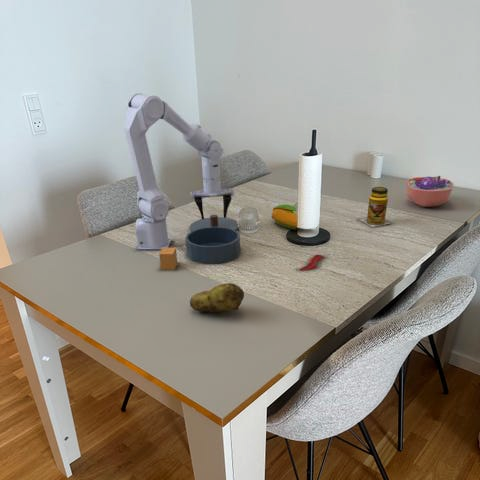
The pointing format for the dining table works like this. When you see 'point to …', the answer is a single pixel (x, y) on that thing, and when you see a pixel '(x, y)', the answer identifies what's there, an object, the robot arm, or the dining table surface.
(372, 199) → the condiment
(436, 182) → the cell model
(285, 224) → the corn
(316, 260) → the cayenne pepper
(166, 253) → the wooden brick
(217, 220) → the pot lid
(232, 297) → the potato
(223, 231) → the pot
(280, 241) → the dining table surface
